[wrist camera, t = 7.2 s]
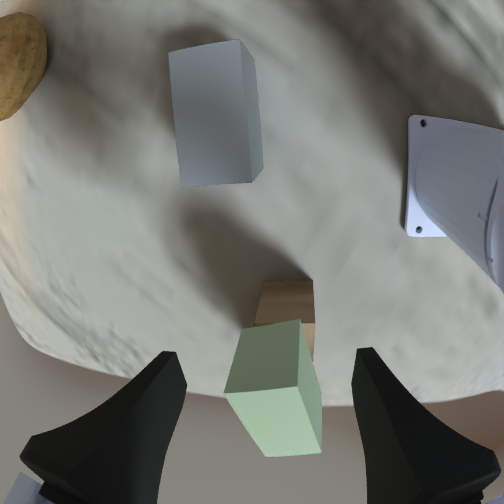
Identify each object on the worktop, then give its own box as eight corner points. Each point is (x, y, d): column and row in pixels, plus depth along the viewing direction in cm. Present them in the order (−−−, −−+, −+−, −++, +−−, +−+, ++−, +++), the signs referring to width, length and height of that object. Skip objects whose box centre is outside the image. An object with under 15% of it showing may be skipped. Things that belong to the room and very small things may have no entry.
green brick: (242, 329, 17) (223, 393, 13) (300, 318, 16) (297, 386, 12) (273, 399, 20) (265, 456, 15) (321, 393, 19) (321, 452, 14)
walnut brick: (263, 280, 21) (254, 322, 17) (312, 279, 21) (314, 323, 16) (269, 351, 24) (262, 396, 20) (310, 351, 24) (310, 397, 19)
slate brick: (200, 68, 16) (168, 52, 11) (254, 60, 15) (239, 38, 11) (209, 171, 19) (182, 187, 14) (263, 167, 18) (252, 182, 14)
